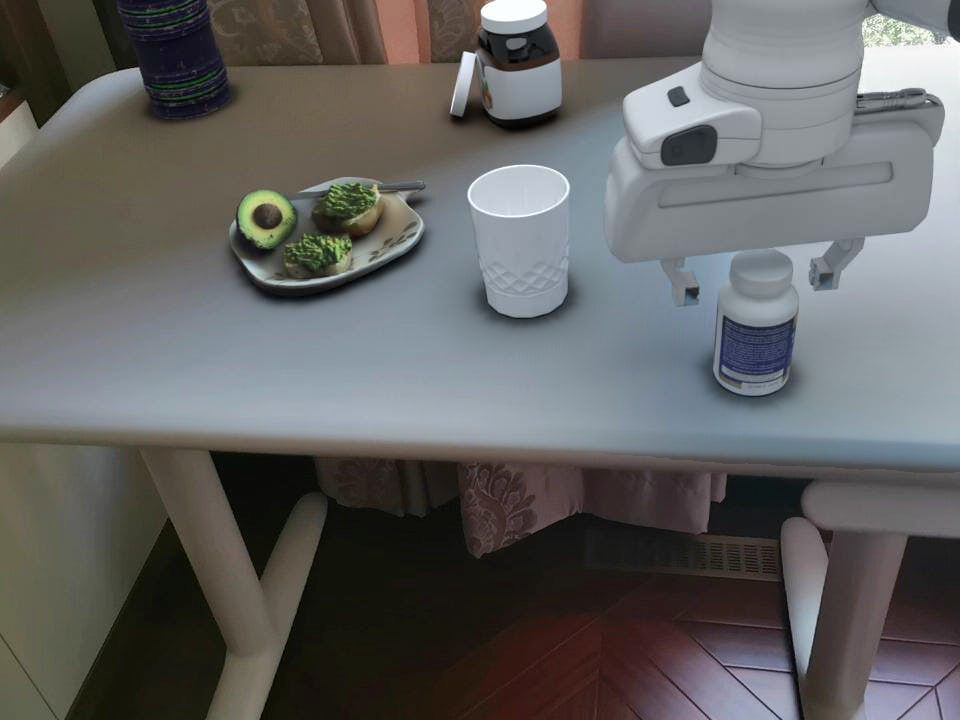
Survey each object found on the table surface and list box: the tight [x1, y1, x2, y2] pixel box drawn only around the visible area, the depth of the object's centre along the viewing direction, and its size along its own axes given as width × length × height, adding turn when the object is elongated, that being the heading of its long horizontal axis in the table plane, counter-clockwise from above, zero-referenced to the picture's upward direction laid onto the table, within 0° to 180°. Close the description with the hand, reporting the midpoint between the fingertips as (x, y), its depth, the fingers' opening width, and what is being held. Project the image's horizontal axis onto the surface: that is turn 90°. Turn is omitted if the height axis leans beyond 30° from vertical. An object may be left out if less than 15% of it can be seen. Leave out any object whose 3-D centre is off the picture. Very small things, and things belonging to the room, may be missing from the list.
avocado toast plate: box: [228, 176, 426, 298], centre depth 89 cm, size 19×18×5 cm
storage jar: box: [115, 0, 233, 120], centre depth 111 cm, size 10×10×18 cm
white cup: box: [466, 164, 571, 318], centre depth 77 cm, size 8×8×10 cm
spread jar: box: [450, 0, 563, 128], centre depth 102 cm, size 12×11×12 cm
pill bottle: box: [712, 248, 800, 396], centre depth 67 cm, size 5×5×10 cm
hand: (753, 293), depth 65 cm, fingers open, 8 cm apart
